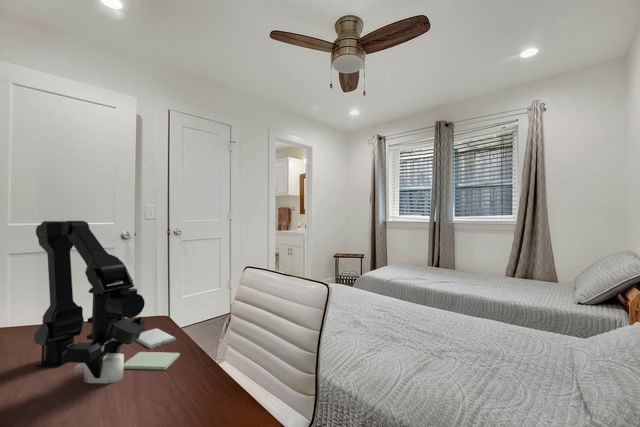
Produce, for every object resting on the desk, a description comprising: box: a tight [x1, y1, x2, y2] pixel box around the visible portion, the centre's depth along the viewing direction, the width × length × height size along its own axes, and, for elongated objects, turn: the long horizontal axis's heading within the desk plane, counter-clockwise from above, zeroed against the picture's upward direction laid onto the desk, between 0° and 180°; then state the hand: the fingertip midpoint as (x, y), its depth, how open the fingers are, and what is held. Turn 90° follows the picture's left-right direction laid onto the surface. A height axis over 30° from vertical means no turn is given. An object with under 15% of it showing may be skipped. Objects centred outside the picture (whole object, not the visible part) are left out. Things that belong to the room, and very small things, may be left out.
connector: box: [73, 352, 125, 384], centre depth 74 cm, size 11×4×6 cm, turn 90°
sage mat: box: [123, 351, 181, 371], centre depth 83 cm, size 12×8×1 cm, turn 90°
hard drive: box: [135, 328, 176, 349], centre depth 98 cm, size 2×8×12 cm
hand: (104, 373), depth 74 cm, fingers closed on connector, 4 cm apart
